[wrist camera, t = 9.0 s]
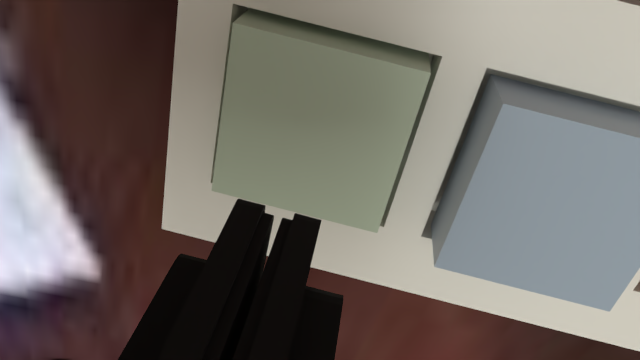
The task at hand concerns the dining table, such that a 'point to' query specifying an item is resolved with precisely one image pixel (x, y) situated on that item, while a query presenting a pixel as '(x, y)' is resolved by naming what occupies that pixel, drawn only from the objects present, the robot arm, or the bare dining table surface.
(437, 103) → the button panel
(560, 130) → the button slate
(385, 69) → the button sage
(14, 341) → the dining table surface
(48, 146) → the dining table surface
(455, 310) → the dining table surface
